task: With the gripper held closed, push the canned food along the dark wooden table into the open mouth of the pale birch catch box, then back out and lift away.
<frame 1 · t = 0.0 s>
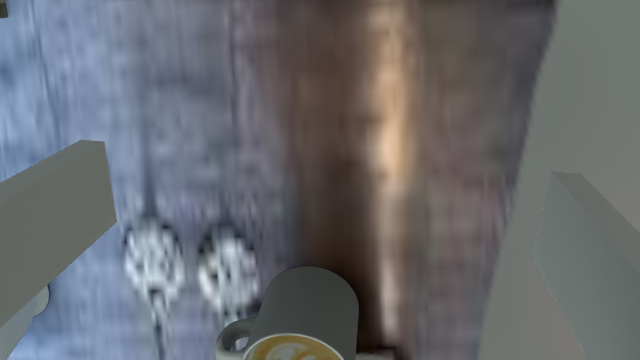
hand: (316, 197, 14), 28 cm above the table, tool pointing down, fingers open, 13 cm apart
jar: (16, 282, 54), on the table
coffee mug: (295, 303, 51), on the table
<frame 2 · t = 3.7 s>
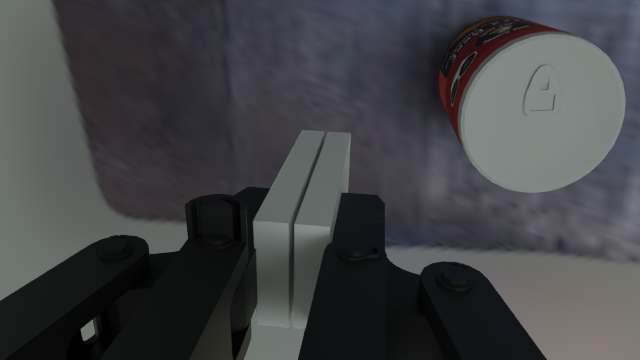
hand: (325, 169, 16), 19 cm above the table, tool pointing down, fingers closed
canned food: (493, 75, 33), on the table
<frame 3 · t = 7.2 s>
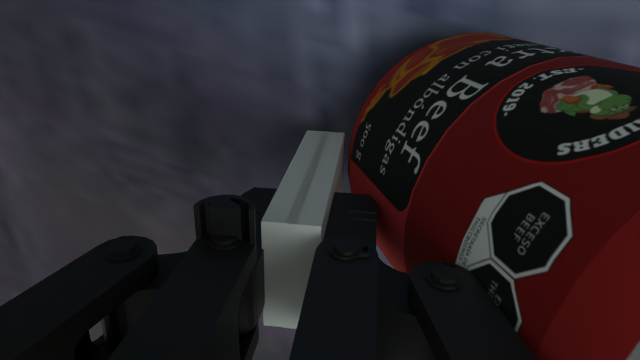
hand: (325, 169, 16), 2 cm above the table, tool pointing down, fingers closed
canned food: (442, 146, 17), point 1 cm above the table, touching gripper, hand
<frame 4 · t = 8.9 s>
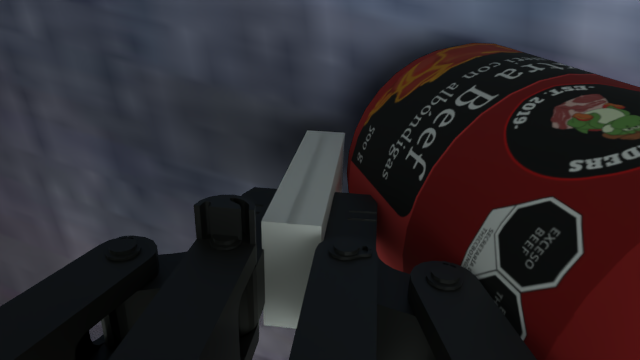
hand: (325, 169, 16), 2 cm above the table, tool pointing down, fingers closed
canned food: (441, 154, 17), point 1 cm above the table, touching gripper, hand
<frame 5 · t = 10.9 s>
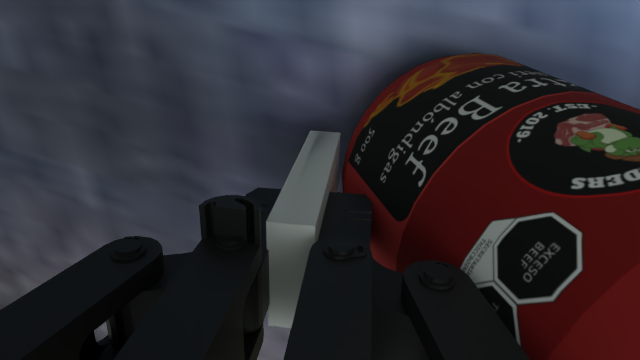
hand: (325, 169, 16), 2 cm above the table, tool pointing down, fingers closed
canned food: (435, 160, 17), point 1 cm above the table, touching gripper, hand
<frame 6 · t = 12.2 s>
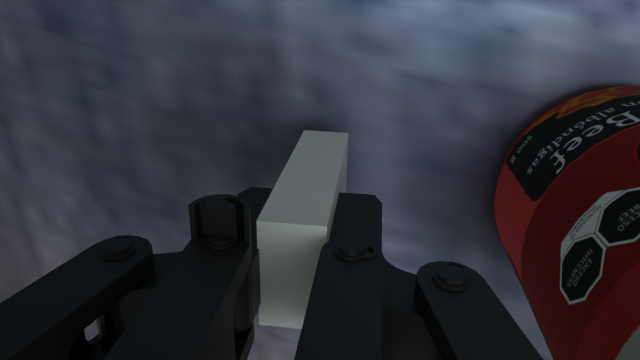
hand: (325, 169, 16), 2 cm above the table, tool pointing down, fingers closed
canned food: (593, 185, 18), on the table
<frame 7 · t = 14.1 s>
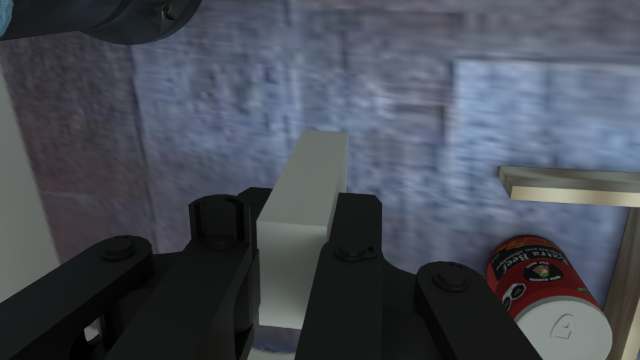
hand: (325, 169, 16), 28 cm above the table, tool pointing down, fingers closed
catch box: (548, 266, 47), on the table
canned food: (524, 267, 48), on the table
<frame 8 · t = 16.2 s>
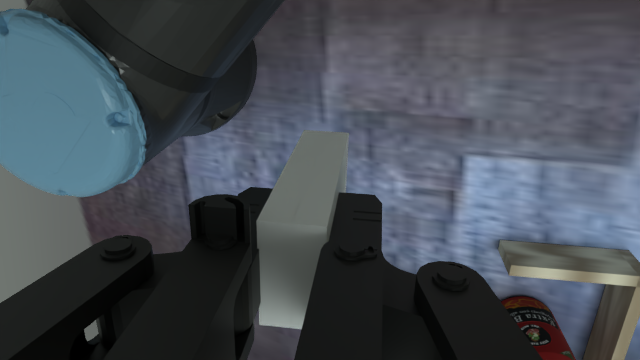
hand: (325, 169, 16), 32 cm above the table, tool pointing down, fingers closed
catch box: (538, 321, 55), on the table
canned food: (517, 321, 56), on the table
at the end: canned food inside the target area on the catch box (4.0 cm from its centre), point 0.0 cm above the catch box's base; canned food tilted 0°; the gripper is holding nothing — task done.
